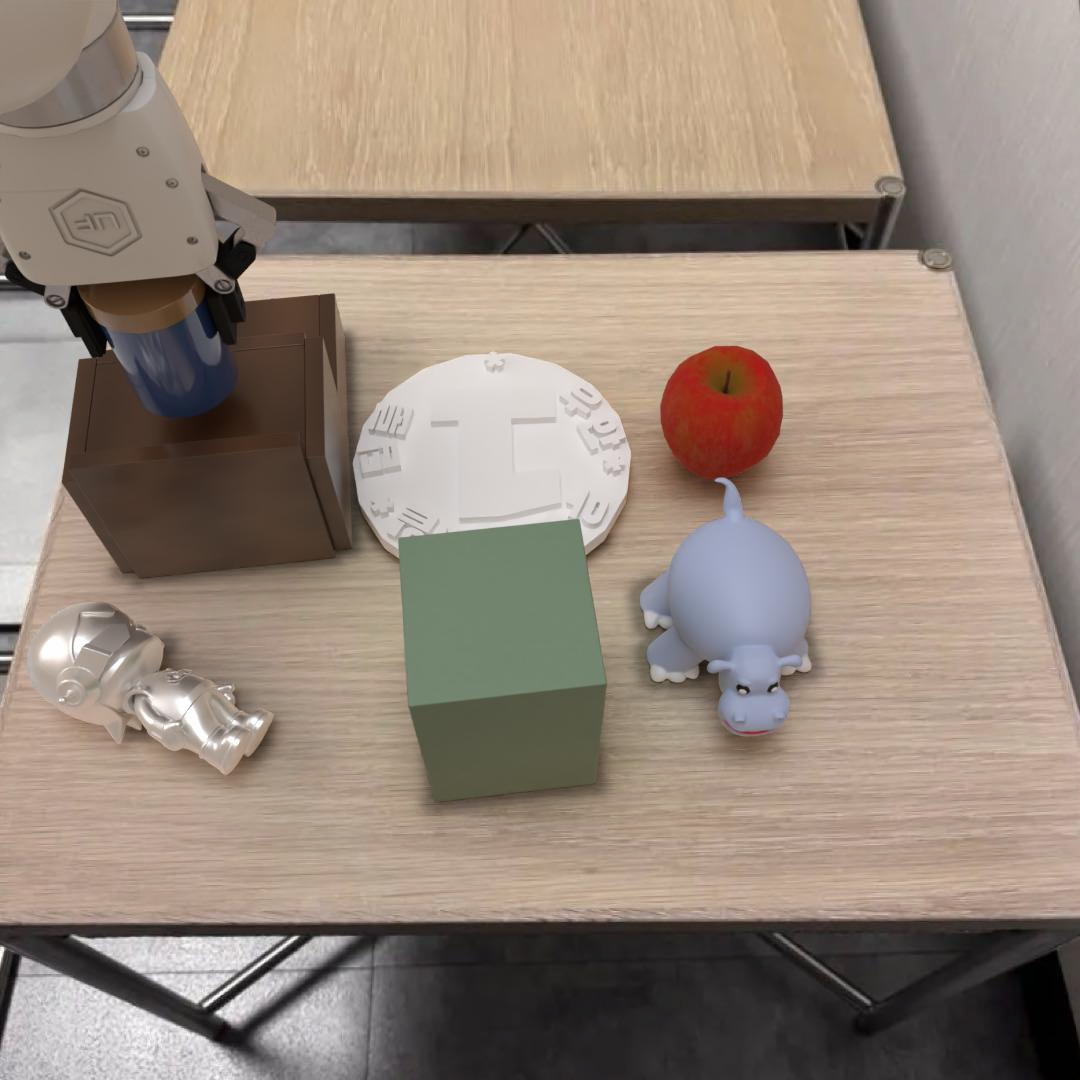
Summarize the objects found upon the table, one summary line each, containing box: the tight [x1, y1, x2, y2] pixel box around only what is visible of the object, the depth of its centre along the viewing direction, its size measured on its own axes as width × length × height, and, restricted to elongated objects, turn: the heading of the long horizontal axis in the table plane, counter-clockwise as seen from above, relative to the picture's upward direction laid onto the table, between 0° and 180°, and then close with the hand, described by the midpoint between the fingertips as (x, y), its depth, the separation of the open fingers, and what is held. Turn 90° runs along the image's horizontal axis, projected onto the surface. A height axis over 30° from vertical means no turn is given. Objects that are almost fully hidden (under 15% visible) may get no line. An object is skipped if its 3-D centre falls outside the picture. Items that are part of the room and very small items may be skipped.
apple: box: [659, 345, 784, 481], centre depth 75 cm, size 9×8×11 cm
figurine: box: [26, 600, 275, 776], centre depth 66 cm, size 11×7×15 cm
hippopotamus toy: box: [639, 478, 812, 737], centre depth 67 cm, size 11×15×10 cm
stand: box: [398, 519, 608, 803], centre depth 62 cm, size 10×10×15 cm
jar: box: [76, 273, 238, 418], centre depth 62 cm, size 7×7×9 cm
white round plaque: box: [352, 350, 632, 559], centre depth 77 cm, size 20×20×3 cm
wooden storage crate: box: [61, 292, 353, 579], centre depth 75 cm, size 16×21×13 cm
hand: (166, 331), depth 63 cm, fingers closed on jar, 6 cm apart
